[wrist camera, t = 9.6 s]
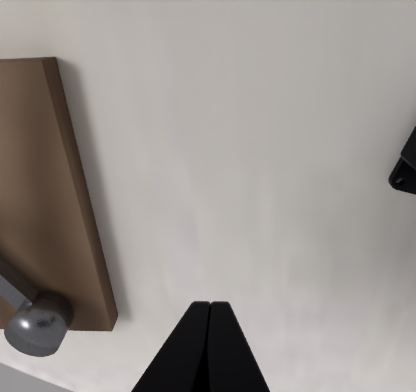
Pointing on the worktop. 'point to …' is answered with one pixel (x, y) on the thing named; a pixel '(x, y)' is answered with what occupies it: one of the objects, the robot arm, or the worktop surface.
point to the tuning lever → (33, 315)
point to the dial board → (48, 197)
